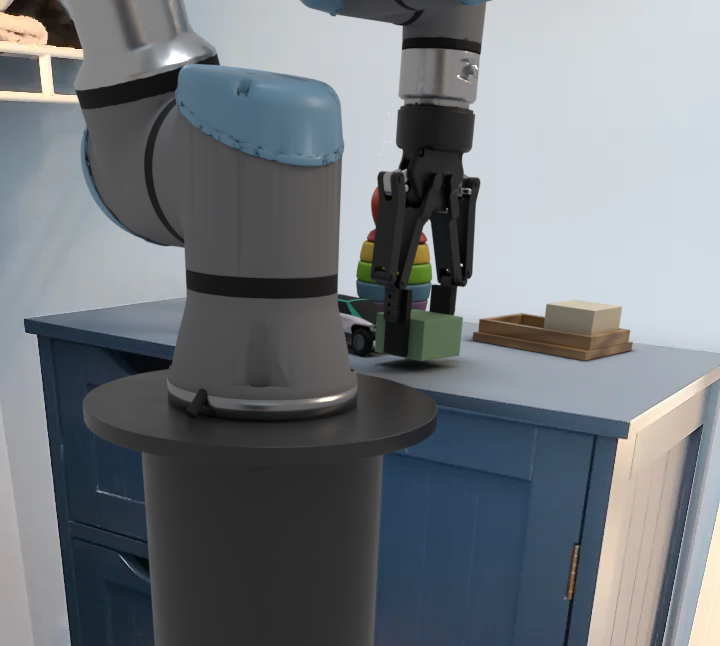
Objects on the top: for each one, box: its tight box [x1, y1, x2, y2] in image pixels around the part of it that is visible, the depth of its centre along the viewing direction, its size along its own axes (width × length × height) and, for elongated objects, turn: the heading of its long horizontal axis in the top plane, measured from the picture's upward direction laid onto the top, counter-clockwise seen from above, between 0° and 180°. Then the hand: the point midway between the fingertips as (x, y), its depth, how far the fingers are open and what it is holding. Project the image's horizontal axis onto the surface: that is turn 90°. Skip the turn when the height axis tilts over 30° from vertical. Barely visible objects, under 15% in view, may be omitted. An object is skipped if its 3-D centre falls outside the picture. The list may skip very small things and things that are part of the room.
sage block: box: [374, 309, 464, 362], centre depth 101 cm, size 6×6×4 cm
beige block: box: [544, 299, 623, 336], centre depth 113 cm, size 6×6×4 cm
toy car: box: [338, 293, 384, 356], centre depth 109 cm, size 6×12×5 cm, turn 41°
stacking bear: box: [355, 185, 433, 311], centre depth 116 cm, size 11×10×18 cm
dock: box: [472, 312, 634, 362], centre depth 116 cm, size 11×16×2 cm
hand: (417, 351), depth 101 cm, fingers closed on sage block, 6 cm apart
